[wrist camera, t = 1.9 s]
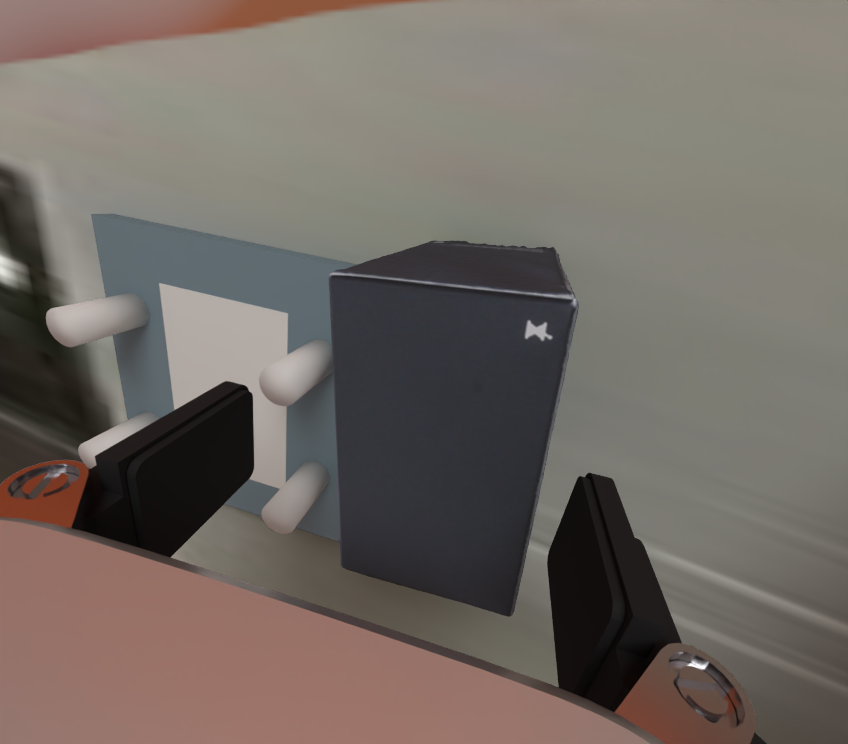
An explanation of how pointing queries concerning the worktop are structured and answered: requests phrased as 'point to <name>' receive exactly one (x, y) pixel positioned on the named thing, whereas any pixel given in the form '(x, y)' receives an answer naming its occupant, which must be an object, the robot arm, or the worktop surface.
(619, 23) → the worktop surface
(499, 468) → the small box
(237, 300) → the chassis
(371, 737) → the robot arm
